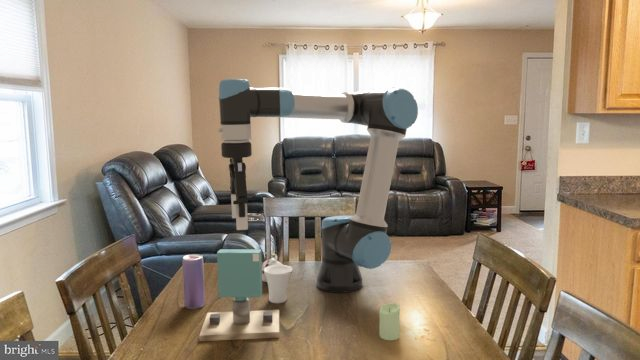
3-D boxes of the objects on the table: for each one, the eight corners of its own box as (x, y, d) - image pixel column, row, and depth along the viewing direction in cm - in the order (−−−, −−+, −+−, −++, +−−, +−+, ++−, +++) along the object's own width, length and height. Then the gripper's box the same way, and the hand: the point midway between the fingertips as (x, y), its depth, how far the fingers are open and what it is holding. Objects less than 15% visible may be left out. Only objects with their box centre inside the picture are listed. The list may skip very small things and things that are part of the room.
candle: (385, 342, 120) (386, 310, 118) (375, 333, 124) (376, 303, 123) (402, 338, 122) (403, 307, 120) (392, 330, 126) (392, 300, 125)
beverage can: (199, 310, 140) (197, 260, 138) (180, 308, 141) (178, 259, 139) (208, 302, 145) (206, 254, 143) (190, 301, 147) (188, 253, 145)
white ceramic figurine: (268, 248, 169) (272, 255, 155) (288, 258, 171) (293, 267, 156) (255, 272, 169) (257, 282, 154) (275, 282, 170) (279, 293, 155)
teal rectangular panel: (221, 296, 129) (220, 249, 127) (262, 296, 129) (261, 249, 127) (218, 301, 126) (216, 252, 124) (260, 301, 126) (259, 253, 124)
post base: (279, 314, 136) (278, 289, 135) (279, 337, 123) (278, 309, 121) (207, 317, 135) (206, 292, 134) (199, 341, 121) (198, 312, 120)
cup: (278, 308, 141) (278, 275, 139) (258, 300, 147) (257, 268, 146) (300, 299, 147) (299, 268, 146) (279, 292, 154) (278, 261, 152)
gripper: (218, 139, 133) (221, 214, 136) (224, 145, 109) (228, 236, 112) (245, 138, 135) (248, 212, 138) (257, 144, 111) (260, 233, 114)
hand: (239, 223), depth 125 cm, fingers open, 13 cm apart
